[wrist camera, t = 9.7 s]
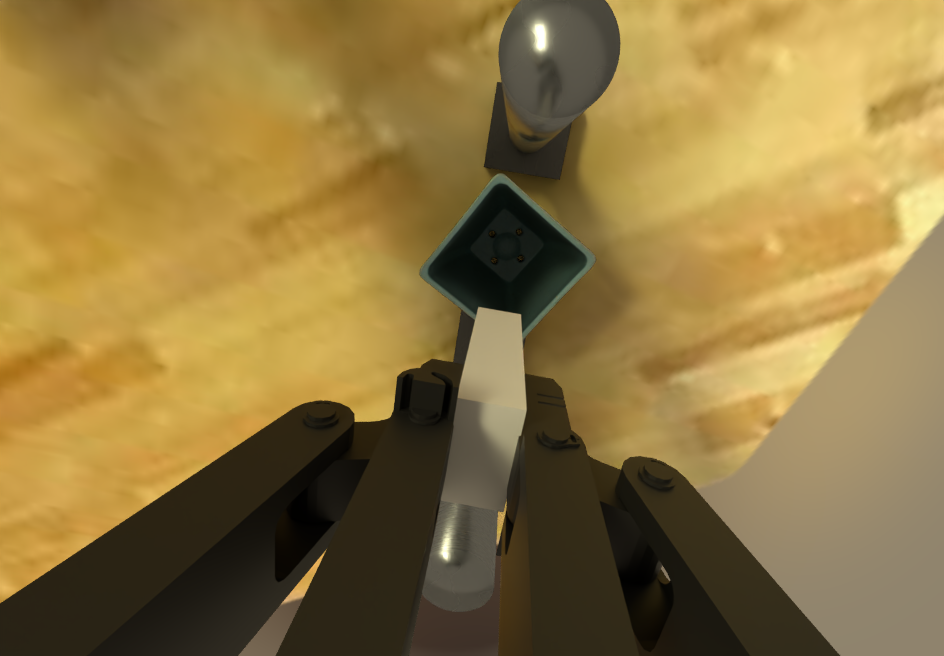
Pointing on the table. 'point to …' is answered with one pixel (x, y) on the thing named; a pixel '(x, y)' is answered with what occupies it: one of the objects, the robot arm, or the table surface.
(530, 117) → the post
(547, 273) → the flower pot
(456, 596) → the post
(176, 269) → the table surface
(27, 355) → the table surface
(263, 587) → the robot arm
